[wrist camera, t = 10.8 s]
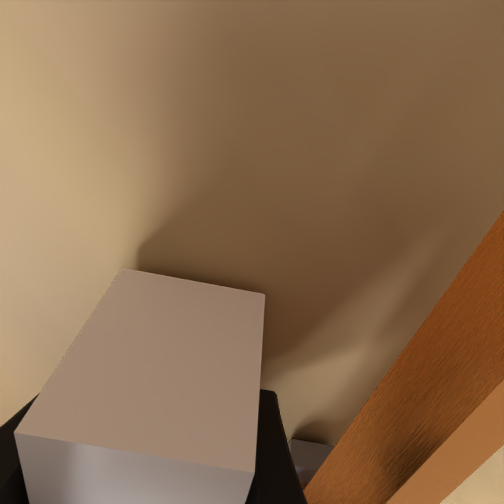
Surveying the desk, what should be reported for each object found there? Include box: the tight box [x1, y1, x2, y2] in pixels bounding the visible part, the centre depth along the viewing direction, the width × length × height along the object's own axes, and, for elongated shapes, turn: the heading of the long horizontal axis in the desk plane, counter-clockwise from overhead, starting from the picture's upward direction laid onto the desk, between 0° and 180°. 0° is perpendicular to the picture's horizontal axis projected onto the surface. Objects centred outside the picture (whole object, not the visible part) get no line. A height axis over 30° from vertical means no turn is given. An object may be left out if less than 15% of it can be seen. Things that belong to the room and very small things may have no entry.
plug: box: [14, 268, 265, 504], centre depth 10 cm, size 7×4×5 cm, turn 170°
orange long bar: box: [300, 211, 504, 504], centre depth 9 cm, size 12×1×4 cm, turn 163°
